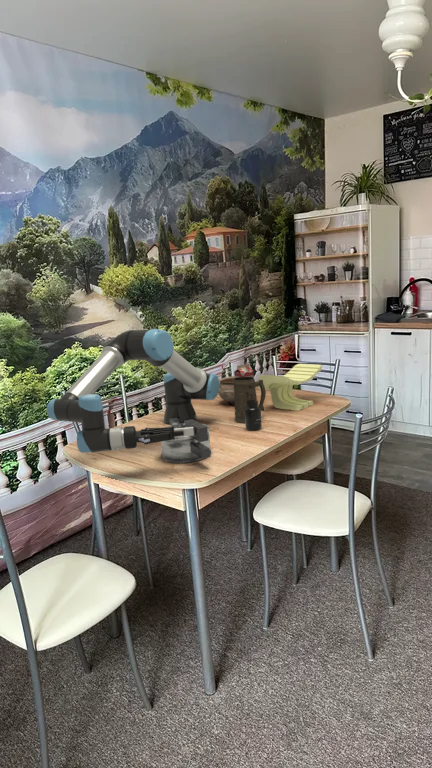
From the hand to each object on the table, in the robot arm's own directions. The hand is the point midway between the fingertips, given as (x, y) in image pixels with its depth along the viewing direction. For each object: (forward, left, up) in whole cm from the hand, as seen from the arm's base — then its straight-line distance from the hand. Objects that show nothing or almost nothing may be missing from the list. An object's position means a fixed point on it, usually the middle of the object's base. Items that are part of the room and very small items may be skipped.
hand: (193, 431), depth 185 cm
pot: (-11, +4, -13) cm, 17 cm away
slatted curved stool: (-37, +79, -13) cm, 89 cm away
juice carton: (-50, +61, -13) cm, 80 cm away
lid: (-10, +4, -4) cm, 12 cm away
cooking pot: (-65, +67, -13) cm, 94 cm away
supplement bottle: (-21, +42, -13) cm, 49 cm away
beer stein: (-34, +51, -13) cm, 63 cm away
